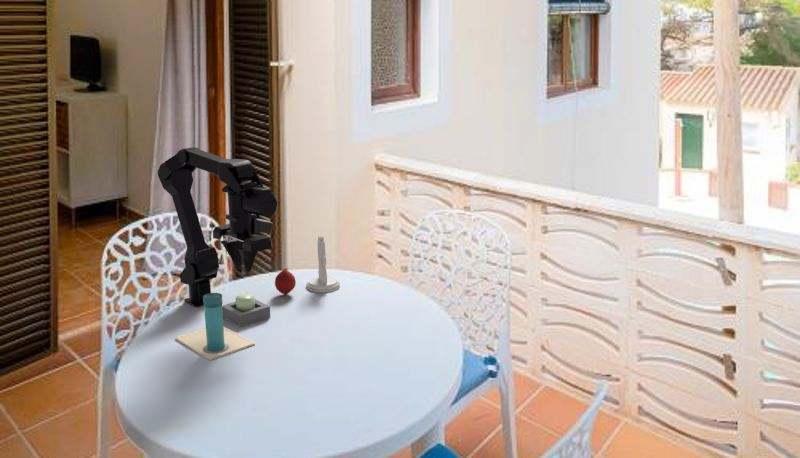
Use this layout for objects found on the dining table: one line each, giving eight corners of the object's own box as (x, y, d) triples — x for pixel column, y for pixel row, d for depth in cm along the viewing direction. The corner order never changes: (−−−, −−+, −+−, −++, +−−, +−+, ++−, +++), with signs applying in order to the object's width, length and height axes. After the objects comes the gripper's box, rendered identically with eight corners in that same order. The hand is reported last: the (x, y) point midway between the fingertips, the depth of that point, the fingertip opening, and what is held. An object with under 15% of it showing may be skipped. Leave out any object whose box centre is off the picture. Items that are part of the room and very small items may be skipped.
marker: (208, 344, 167) (205, 292, 164) (226, 343, 167) (223, 292, 164) (205, 352, 163) (201, 299, 160) (223, 351, 163) (220, 299, 160)
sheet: (175, 339, 171) (175, 337, 171) (219, 325, 179) (219, 323, 179) (209, 360, 160) (209, 358, 160) (254, 344, 168) (254, 343, 168)
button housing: (221, 316, 184) (221, 305, 184) (251, 307, 190) (250, 297, 190) (240, 326, 178) (240, 315, 177) (270, 317, 184) (270, 306, 184)
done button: (232, 309, 184) (231, 297, 183) (248, 304, 187) (247, 292, 186) (242, 314, 181) (242, 301, 180) (258, 309, 184) (258, 297, 183)
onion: (291, 299, 197) (290, 272, 195) (272, 297, 198) (271, 270, 196) (298, 291, 202) (297, 265, 200) (279, 290, 203) (278, 264, 201)
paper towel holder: (309, 293, 201) (308, 243, 197) (303, 282, 210) (302, 234, 206) (343, 290, 204) (342, 240, 200) (336, 279, 213) (335, 231, 209)
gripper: (288, 212, 176) (291, 271, 180) (247, 199, 188) (250, 255, 193) (250, 219, 168) (253, 281, 172) (210, 206, 181) (213, 264, 185)
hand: (243, 269), depth 181 cm, fingers open, 4 cm apart
